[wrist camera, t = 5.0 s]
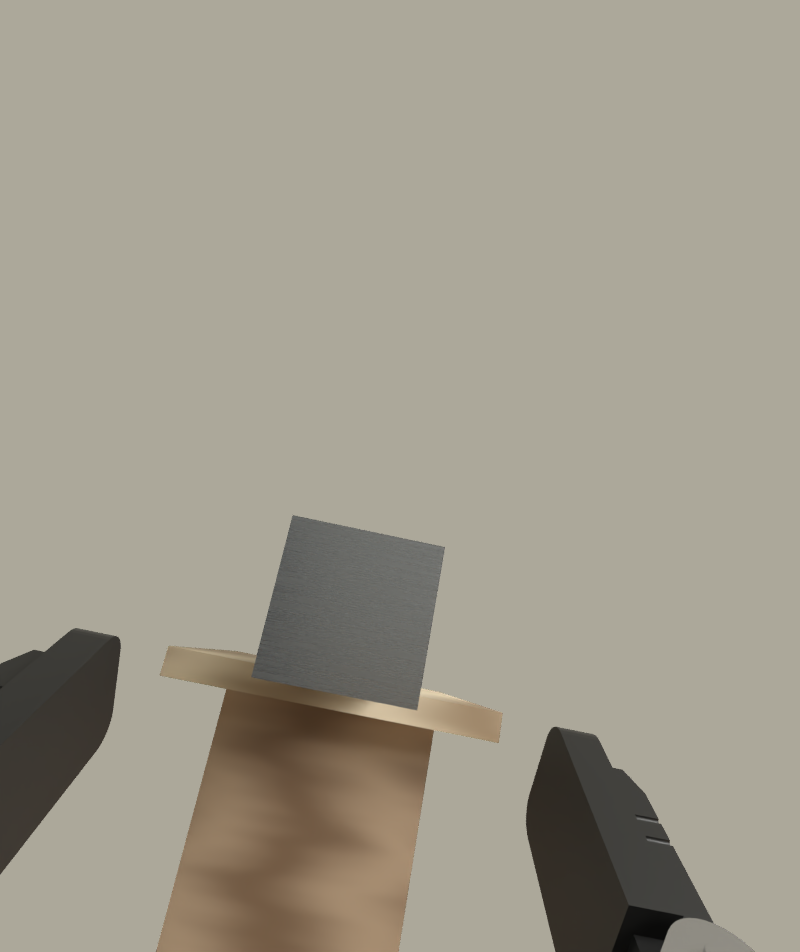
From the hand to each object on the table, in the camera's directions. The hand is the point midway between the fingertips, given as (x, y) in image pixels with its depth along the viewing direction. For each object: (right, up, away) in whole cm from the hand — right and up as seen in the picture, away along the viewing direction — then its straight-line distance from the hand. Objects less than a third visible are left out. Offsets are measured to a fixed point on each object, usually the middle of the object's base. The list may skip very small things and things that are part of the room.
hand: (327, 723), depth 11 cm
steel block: (-1, -4, +13) cm, 13 cm away
